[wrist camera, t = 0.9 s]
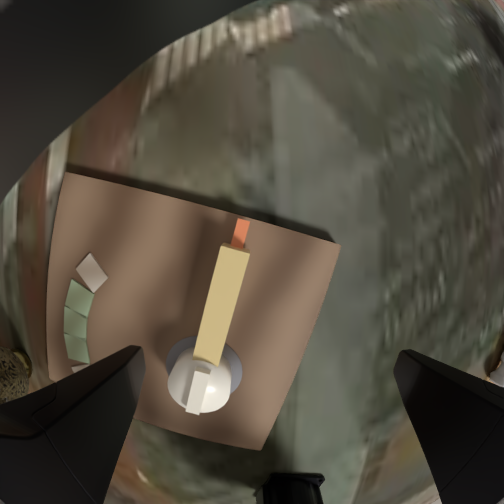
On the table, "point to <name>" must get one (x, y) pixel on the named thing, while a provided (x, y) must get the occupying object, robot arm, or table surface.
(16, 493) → the robot arm
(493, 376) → the pale two-lobed sculpture
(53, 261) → the tuner board
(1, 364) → the cup
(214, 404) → the tuner pointer lever
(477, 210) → the table surface
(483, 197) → the table surface
